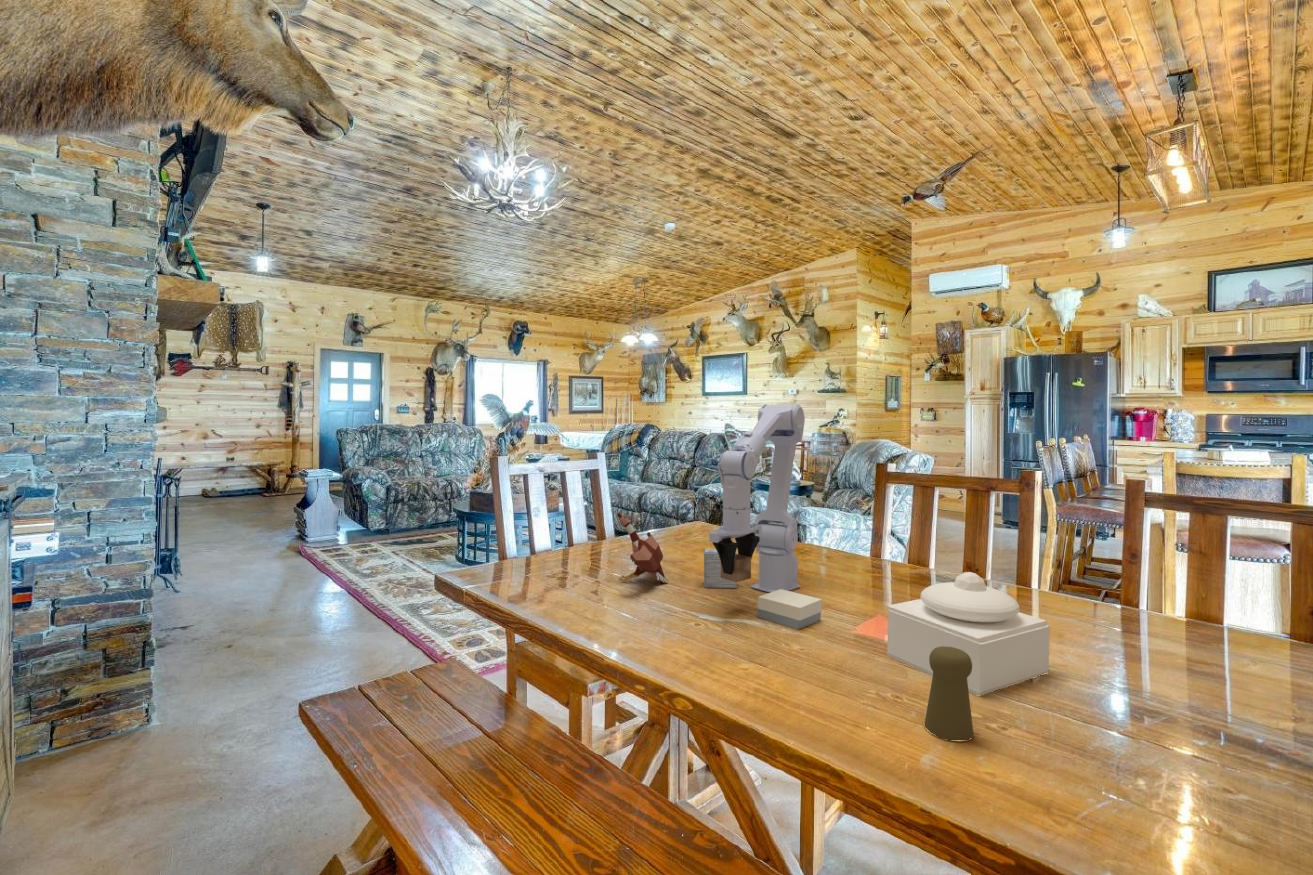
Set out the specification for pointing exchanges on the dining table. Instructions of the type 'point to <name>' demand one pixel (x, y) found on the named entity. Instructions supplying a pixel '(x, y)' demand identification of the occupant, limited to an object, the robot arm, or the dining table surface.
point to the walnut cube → (739, 569)
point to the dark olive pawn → (949, 694)
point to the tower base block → (788, 619)
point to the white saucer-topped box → (970, 633)
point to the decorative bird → (644, 554)
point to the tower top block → (790, 604)
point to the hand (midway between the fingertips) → (736, 571)
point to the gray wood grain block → (714, 571)
